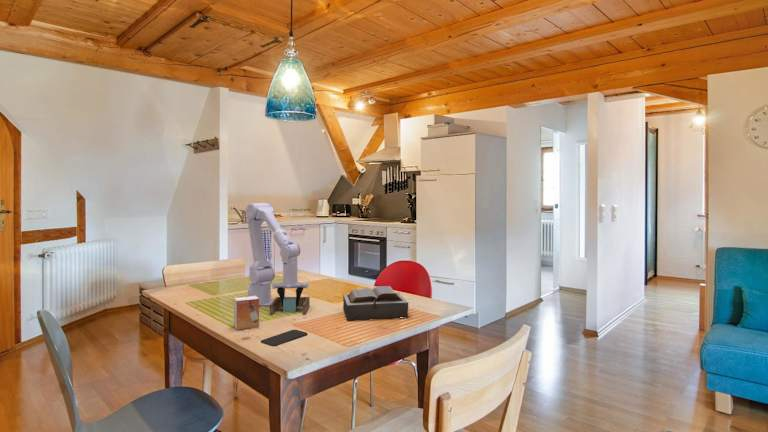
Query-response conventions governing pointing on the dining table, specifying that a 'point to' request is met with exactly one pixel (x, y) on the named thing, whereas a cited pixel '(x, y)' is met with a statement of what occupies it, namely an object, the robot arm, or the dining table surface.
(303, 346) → the dining table surface
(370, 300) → the bible
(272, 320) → the dining table surface
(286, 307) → the teal block
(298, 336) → the phone
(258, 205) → the robot arm
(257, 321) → the small box
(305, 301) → the walnut crate
